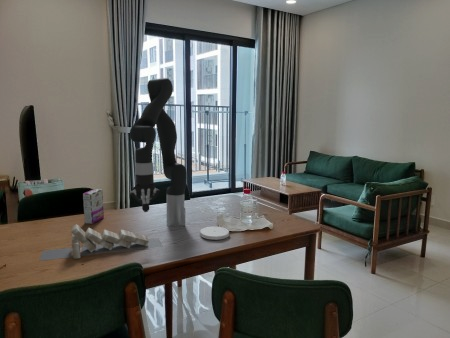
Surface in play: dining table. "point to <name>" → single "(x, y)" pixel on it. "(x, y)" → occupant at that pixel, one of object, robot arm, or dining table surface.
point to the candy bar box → (93, 206)
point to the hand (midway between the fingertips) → (145, 211)
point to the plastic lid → (214, 233)
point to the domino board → (99, 250)
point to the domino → (75, 247)
